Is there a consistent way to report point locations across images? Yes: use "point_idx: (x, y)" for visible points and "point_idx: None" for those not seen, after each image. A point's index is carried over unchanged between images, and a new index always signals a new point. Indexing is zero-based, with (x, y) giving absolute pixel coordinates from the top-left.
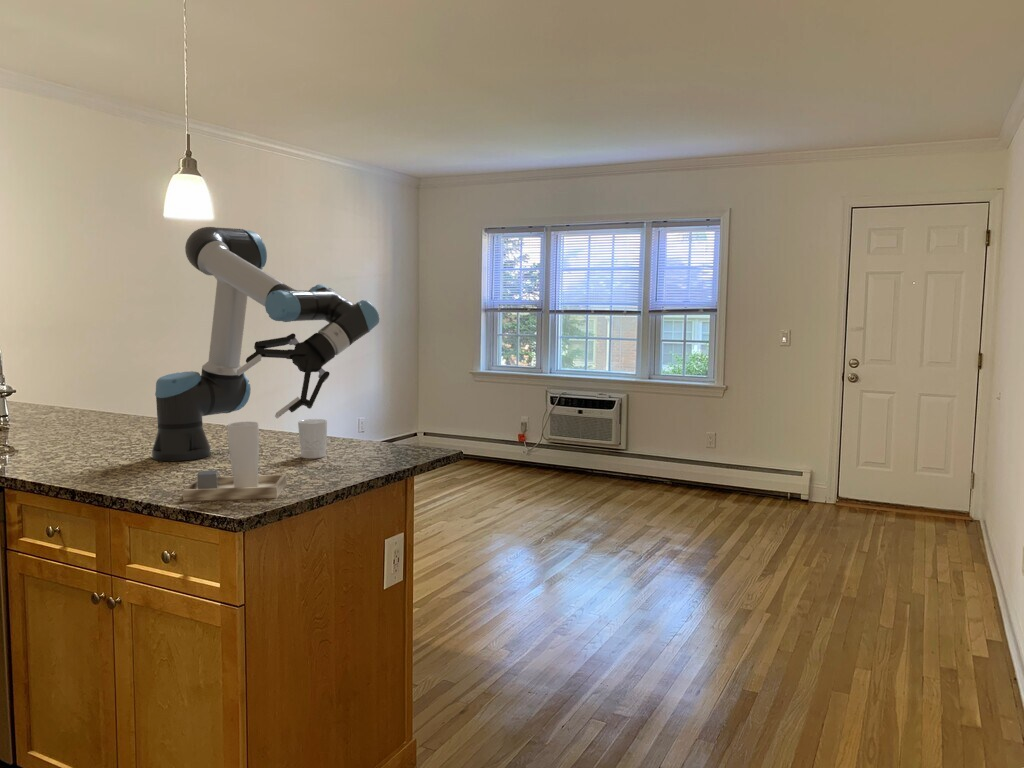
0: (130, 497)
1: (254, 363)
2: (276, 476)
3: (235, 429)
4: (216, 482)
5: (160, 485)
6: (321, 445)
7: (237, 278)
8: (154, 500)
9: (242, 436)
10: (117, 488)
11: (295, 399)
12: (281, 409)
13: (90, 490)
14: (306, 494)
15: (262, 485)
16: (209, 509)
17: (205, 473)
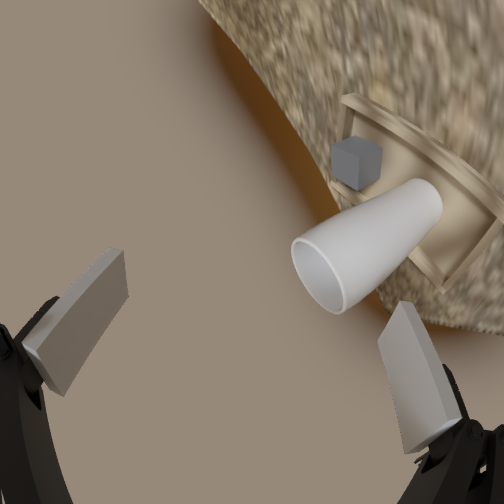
0: (286, 109)
1: (75, 335)
2: (487, 206)
3: (311, 283)
4: (368, 184)
5: (299, 46)
6: None
7: None
8: (312, 146)
9: (335, 286)
10: (260, 47)
11: (405, 435)
12: (385, 362)
13: (242, 49)
14: (495, 309)
15: (456, 203)
16: None
17: (341, 172)
